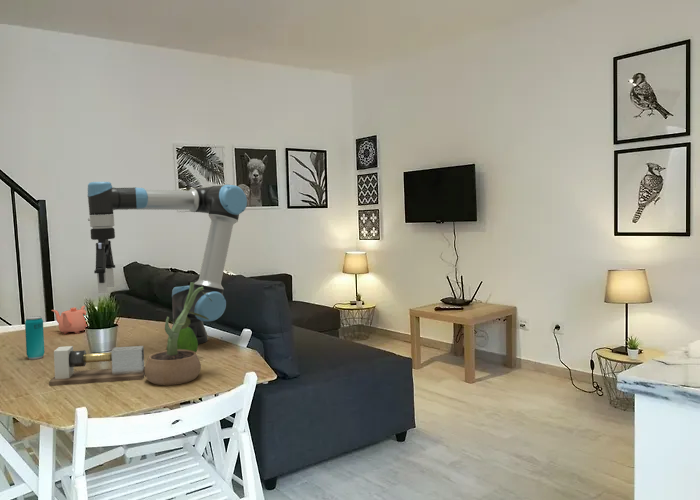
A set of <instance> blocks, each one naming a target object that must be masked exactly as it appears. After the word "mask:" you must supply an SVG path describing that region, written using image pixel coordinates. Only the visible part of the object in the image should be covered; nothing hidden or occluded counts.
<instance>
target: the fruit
mask: <svg viewBox="0 0 700 500" xmlns="http://www.w3.org/2000/svg"><path fill="white" fill-rule="evenodd" d="M198 348H199V344H198V341H197V338H196V336H195V334H194V332H193V330H192V329H191V328H190V327H187V328H184V329H180V332H179V336H178V340H177V350H179V349H181V350H191V351H194V352H196V353H197V351H198Z"/></svg>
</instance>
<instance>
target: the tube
mask: <svg viewBox="0 0 700 500" xmlns="http://www.w3.org/2000/svg"><path fill="white" fill-rule="evenodd" d="M101 362H112V352H111V351H110V352H108V351H107V352H93V353H92V352H91V353H90V352H89V353H87V352H86V350H85V349H84V350H73V351H70V354H69V366H70V367H74V368H77V367H78V368H79V367H80V368H81V367H86V364H87V363H101Z"/></svg>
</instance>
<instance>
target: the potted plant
mask: <svg viewBox="0 0 700 500" xmlns="http://www.w3.org/2000/svg"><path fill="white" fill-rule="evenodd" d="M194 283H195V282H194V281H193V282H191V281H190V284H189V286H190V288H189V293H188V296H187V298H186V301H185V305H184V309H183V311H182V313H181V314H180V315H179V317H177V318H176V319H175V324H174V326H173V325H172V326H173V327H171V328H170V325H169V322H170V323H172V324H173V323H174V322H173V321H170V316H166V319H165V323H164V331H165V333H166V334H167V336H168V337H167V343H166V350H161V351H157V352H153V353H151V354H150V355H149V356H148V358H147V361H146V363H145V364H144V367H145V376H144V377H146V380H147V381H148V382H150V383H152V384H154V385H157V386H158V385H159V386H172V385H173V386H175V385H182V384H186V383H188V382H192V381H193V380H196V378H197V377H198V376H199V375H200V372H201V369H202V366H201V365H202V364H201V361H200V359H199V357H198V354H197V351H196V352H194V351H191V350H181V349H179V350H177V340H178V336H179V332H180V329H184V328H187V327H188V326H189V325H190V319H189V318H188V317H187V315H188V313H191V314H194V315H197V316H200V317H202V318H205V319H207V320H209V319H208V318H207V317H205V316H203V315H200V314H197V313H194V312H191V311H189V310H190V309H191V307H192V305H193V303H194V300H195V298H196V295H197V294H198V292H200V291H201V290H204V289H203V286H202V287H199V288H197V289H196V290H195V291H194V292H193V289H194ZM203 293H204V292H203ZM204 294H205V293H204ZM205 295H206V294H205ZM206 296H207V295H206ZM207 297H208V296H207ZM208 298H209V297H208ZM209 299H210V298H209ZM210 300H211V299H210ZM211 301H212V300H211Z"/></svg>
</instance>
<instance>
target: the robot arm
mask: <svg viewBox="0 0 700 500" xmlns="http://www.w3.org/2000/svg"><path fill="white" fill-rule="evenodd" d="M87 201H88V203H87V204H88V212H89V217H88V219H87V220H88V221H89V226H90V227H91V228H90V238H91V240H92V241H93V240H94V241H95V240H96V241H97V242H96V243H95V270H94V274H96V277H97V278H96V279H97V289H98V291H97V292H98V294H101V293H102V294H104V293H108V292H109V291H108V288H115V277H114V269H116V264H115V263H114V258H113V251H112V244H111V243H112V241H111V240H113V239H115V237H116V232H115V227H114V226H115V215H114V211H118V210H120V211H121V210H123V211H124V210H125V211H127V210H140V211H141V210H151V211H152V210H153V211H154V210H155V211H159V210H162V211H164V210H171V211H172V210H174V211H175V210H177V211H178V210H183V211H184V210H185V211H187V210H189V212H191V213H204V214H208V217H209V219H210V221H211V222H210V226H209V229H208V235H207V240H206V244H205V250H204V253H203V259H202V263H201V268H200V272H199V273H200V274H199V278H198V280H196V281H195V282H193V283H194V289H193V292H194V291H195V290H196V289H197V288H199V287H202V286H203V289H204V290H201V291H200V292H198V294H197V295H196V298H195V300H194V303H193V305H192V307H191V309H190V310H189V311H191V312H194V313H197V314H200V315H203V316H205V317H207V318H208V319H209V320H207V319H205V318H202V317H200V316H197V315H194V314H191V313H188V315H187V317H188V318H189V319H190V325H189V326H188V327H190V328H191V329H192V330H193V332H194V334H195V336H196V338H197V341H198V345H200V344H204V343H206V342H208V339H209V338H208V333H207V331H206V327H205V325H204V322H214V321H216V320H219V318H221V317H222V315H223V314H224V313H225V311H226V308H227V301H226V298H225V296H224V292H225V291H224V290H225V289H224V287H223V286H222V280H223V274H224V271H225V266H226V261H227V256H228V251H229V246H230V241H231V237H232V232H233V227H234V225H235V224H236V223H238V222H239V218H240V215H241V214H243V212H244V211H245V210H246V208H247V205H248V199H247V194H245V192H244V189H242V187H239V186H238V185H235V184H225V185H222V184H221V185H212V186H208V187H199V188H198V187H197V188H196V187H195V188H190V189H189V190H174V189H173V190H170V189H169V190H167V189H163V190H162V189H145V188H143V187H113V185H112V183H111V182H110V181H91V182H89V183H88V184H87ZM189 288H190V285H183V286H175V287H173V289H172V291H171V300H172V301H171V302H172V303H171V304H172V305H171V306H172V322H174V323H172V327H173V326H174V324H175V319H176V318H177V317H179V315H180V314H181V313H182V311H183V309H184V305H185V301H186V298H187V296H188V293H189ZM203 292H204V293H205V294H206V295H207V296H208V297H209V298H210V299H211V300H212V301H211V300H210V299H209V298H208V297H207V296H206V295H205V294H204V293H203ZM172 327H171V328H172Z"/></svg>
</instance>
